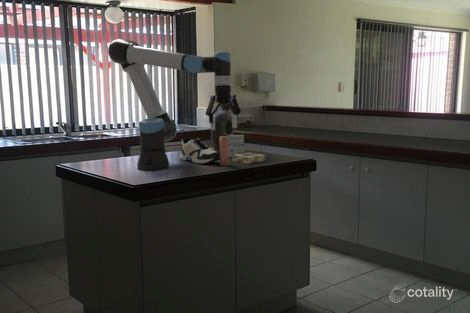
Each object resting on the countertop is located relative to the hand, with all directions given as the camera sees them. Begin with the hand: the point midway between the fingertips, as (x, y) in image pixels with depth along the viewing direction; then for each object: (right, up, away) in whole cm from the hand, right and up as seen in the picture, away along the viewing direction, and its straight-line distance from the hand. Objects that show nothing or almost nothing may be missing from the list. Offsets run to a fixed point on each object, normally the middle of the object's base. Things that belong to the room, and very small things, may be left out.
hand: (223, 128), depth 233 cm
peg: (0, -18, +3) cm, 18 cm away
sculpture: (-1, -12, +40) cm, 42 cm away
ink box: (+6, -14, +28) cm, 32 cm away
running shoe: (-14, -16, +14) cm, 25 cm away
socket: (+13, -16, +14) cm, 25 cm away
